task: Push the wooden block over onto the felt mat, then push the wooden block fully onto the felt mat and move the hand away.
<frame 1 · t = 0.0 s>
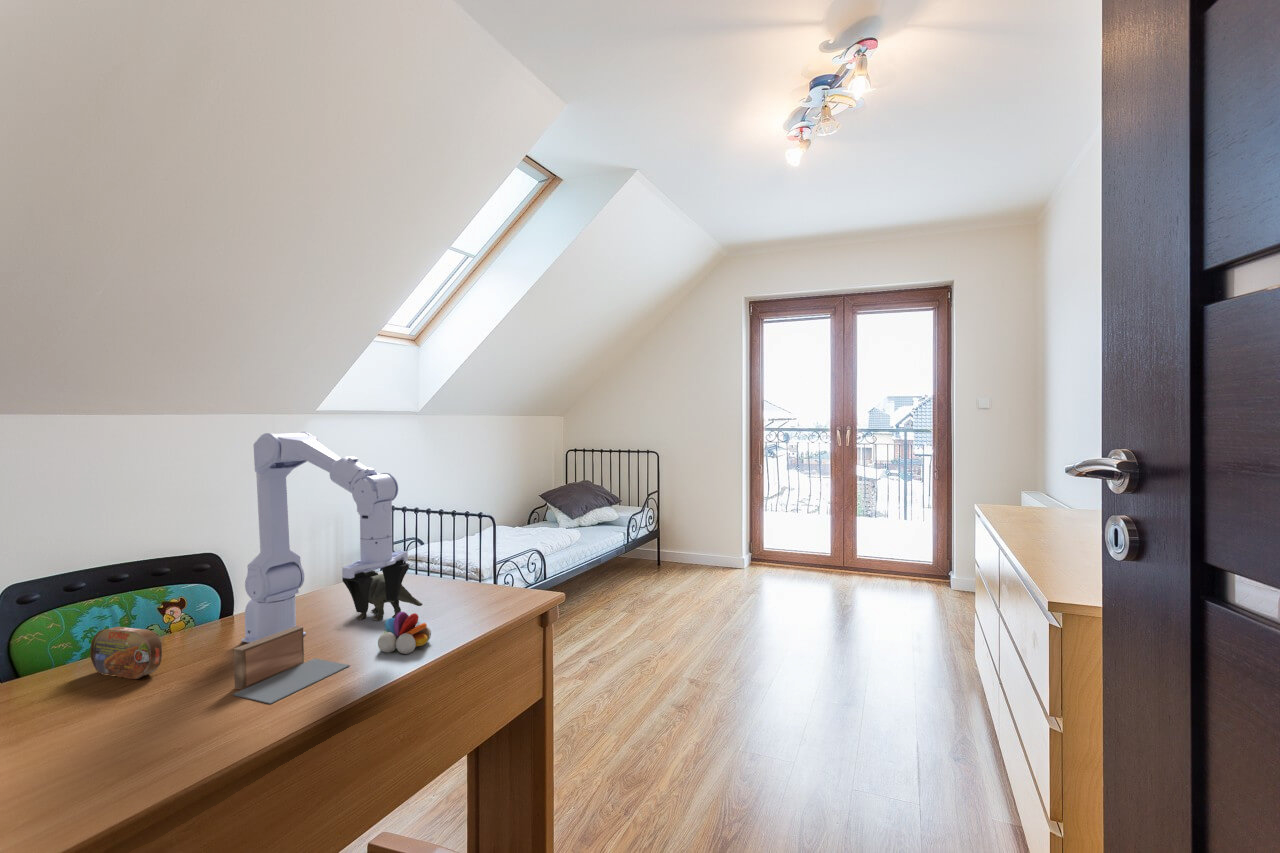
hand: (377, 606, 118), 10 cm above the table, fingers open, 7 cm apart
wooden block: (270, 675, 110), on the table
felt mat: (294, 679, 108), on the table
rainbow petal rattle: (404, 648, 123), on the table
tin: (127, 675, 111), on the table
dinosaur figurine: (381, 617, 142), on the table
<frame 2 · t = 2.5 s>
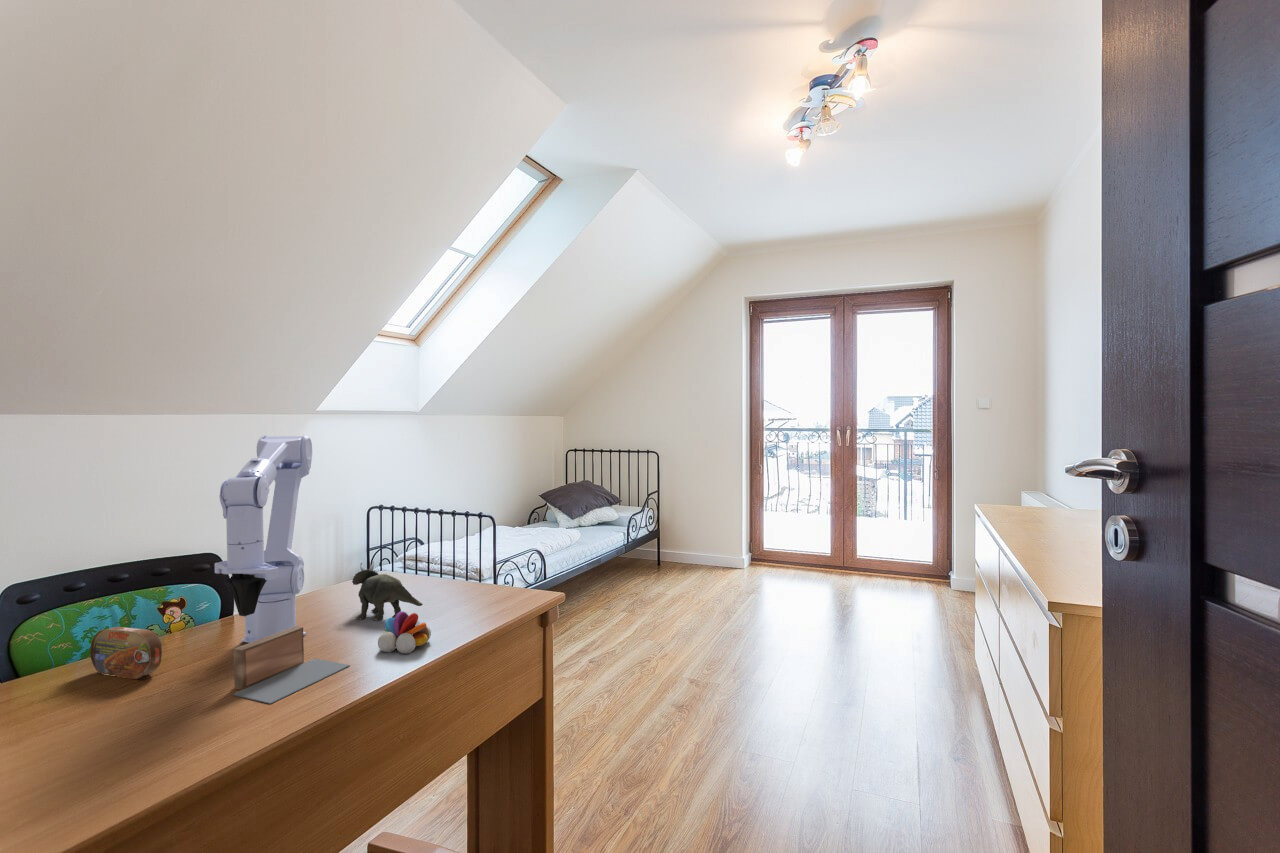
hand: (247, 614, 112), 10 cm above the table, fingers closed
nothing on the table moved.
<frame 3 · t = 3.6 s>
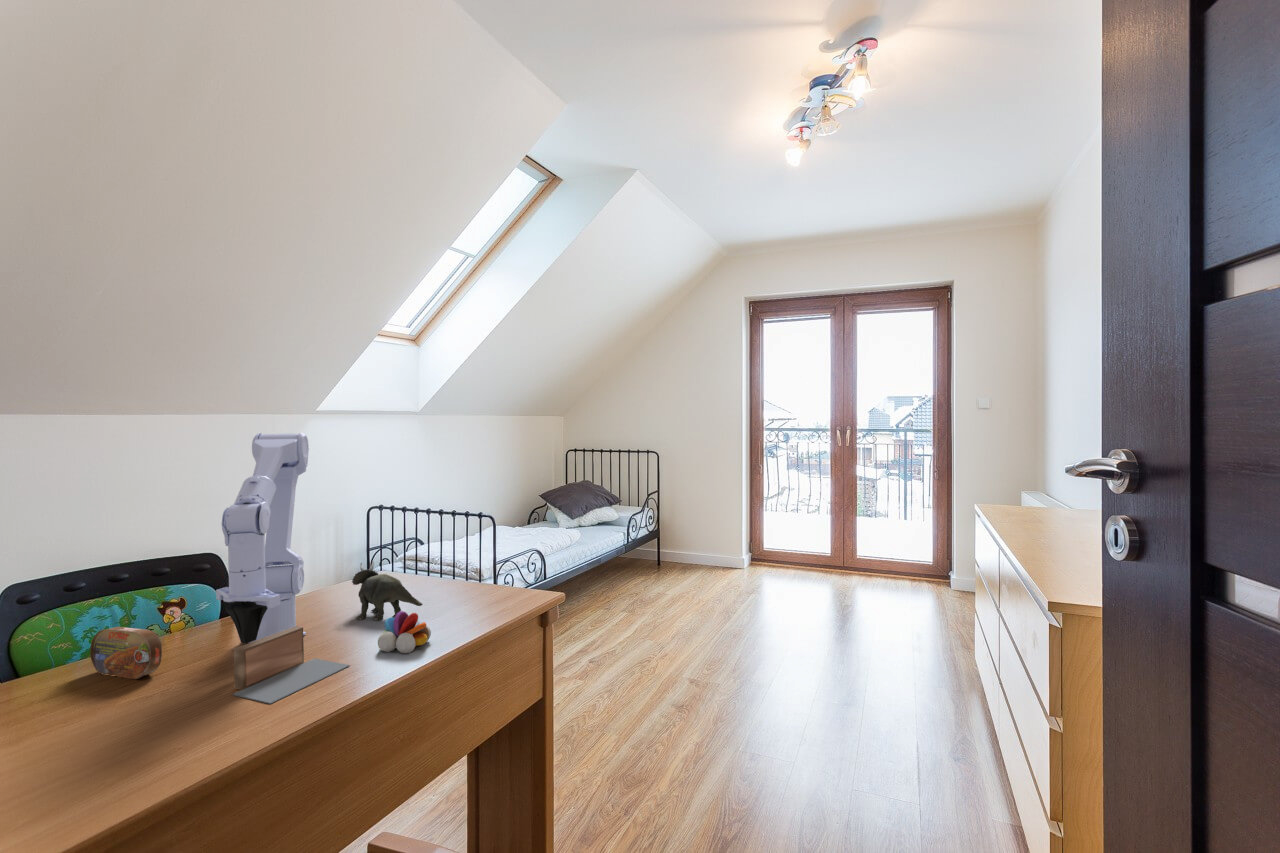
hand: (248, 641, 112), 5 cm above the table, fingers closed
nothing on the table moved.
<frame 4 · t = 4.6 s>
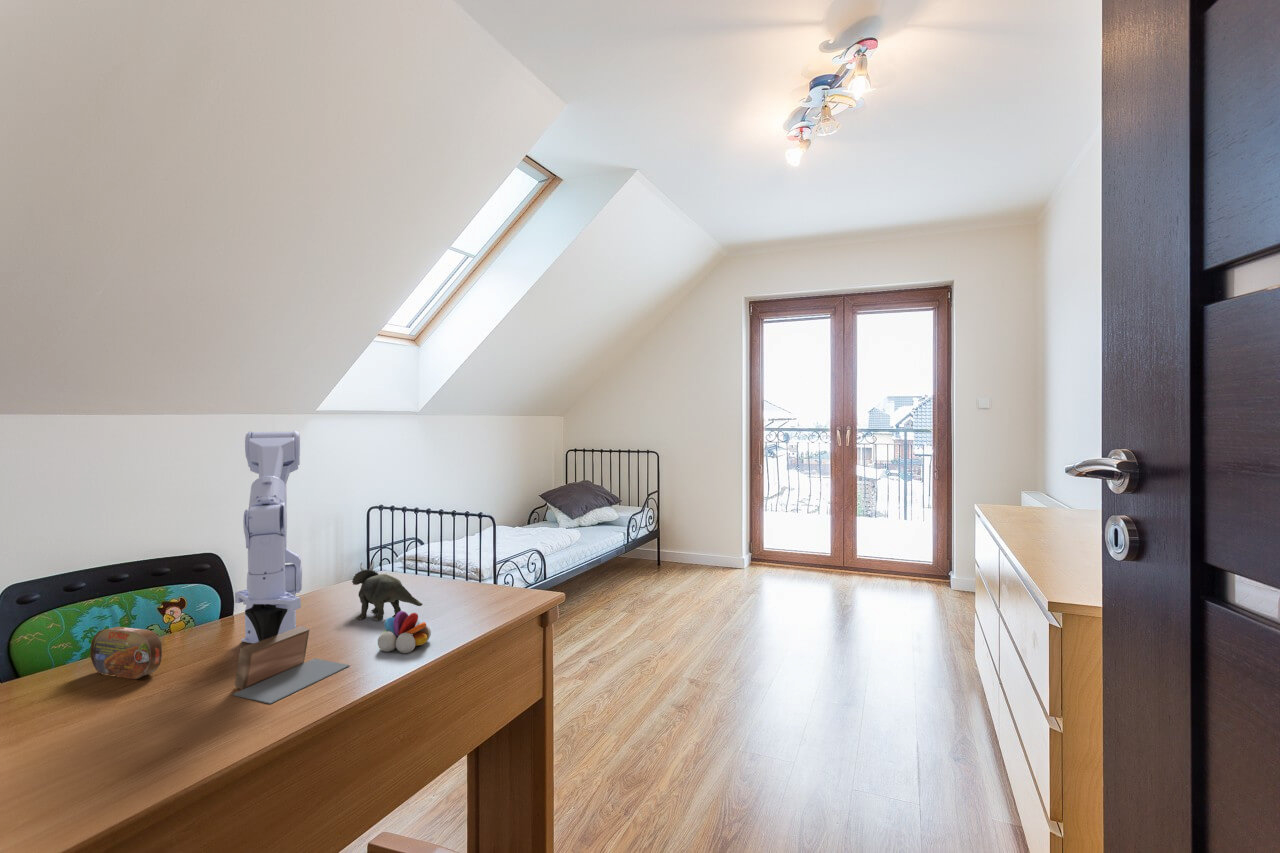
hand: (268, 644, 110), 5 cm above the table, fingers closed
wooden block: (270, 674, 110), on the table, tilted 14°, touching gripper
everything else where it was.
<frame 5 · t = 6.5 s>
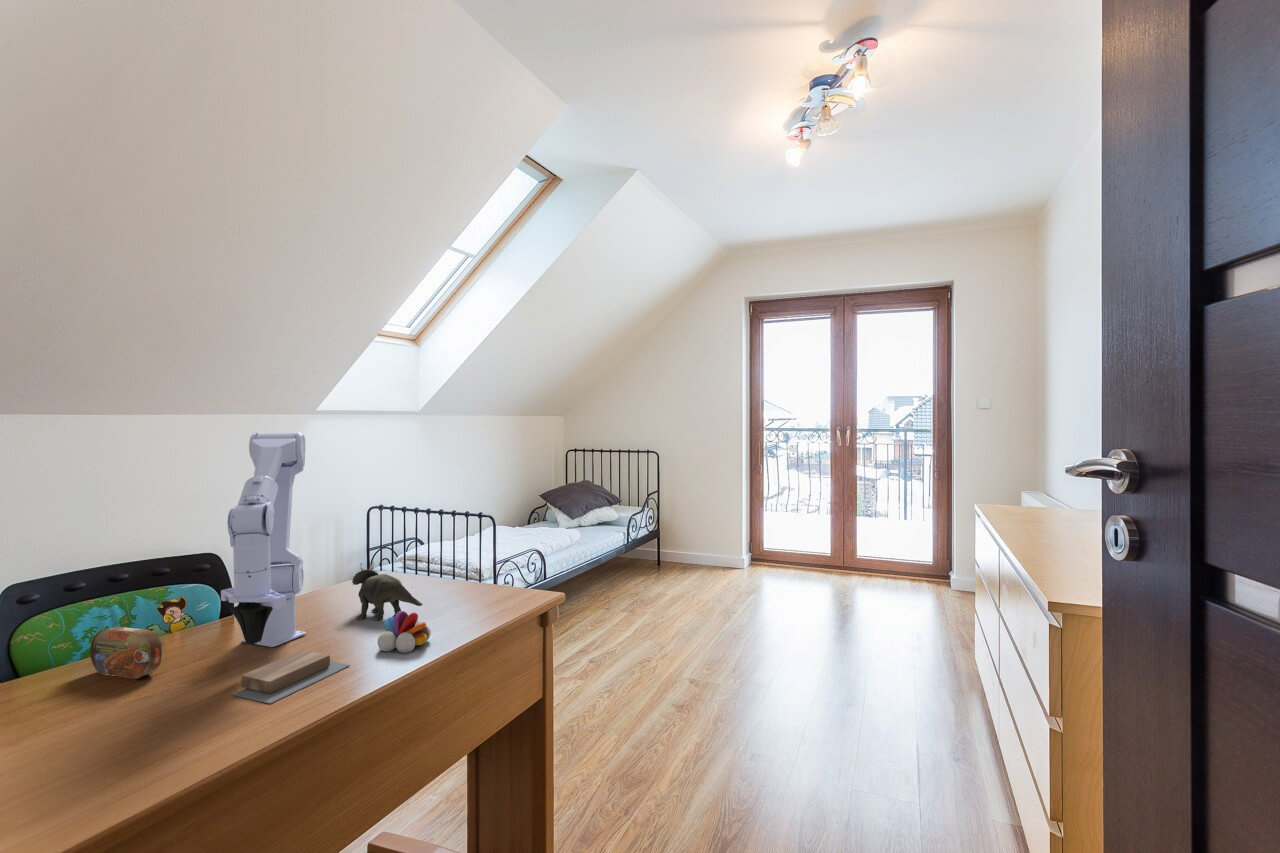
hand: (253, 642, 112), 5 cm above the table, fingers closed
wooden block: (273, 667, 110), point 1 cm above the table, tilted 90°, touching felt mat
everything else where it was.
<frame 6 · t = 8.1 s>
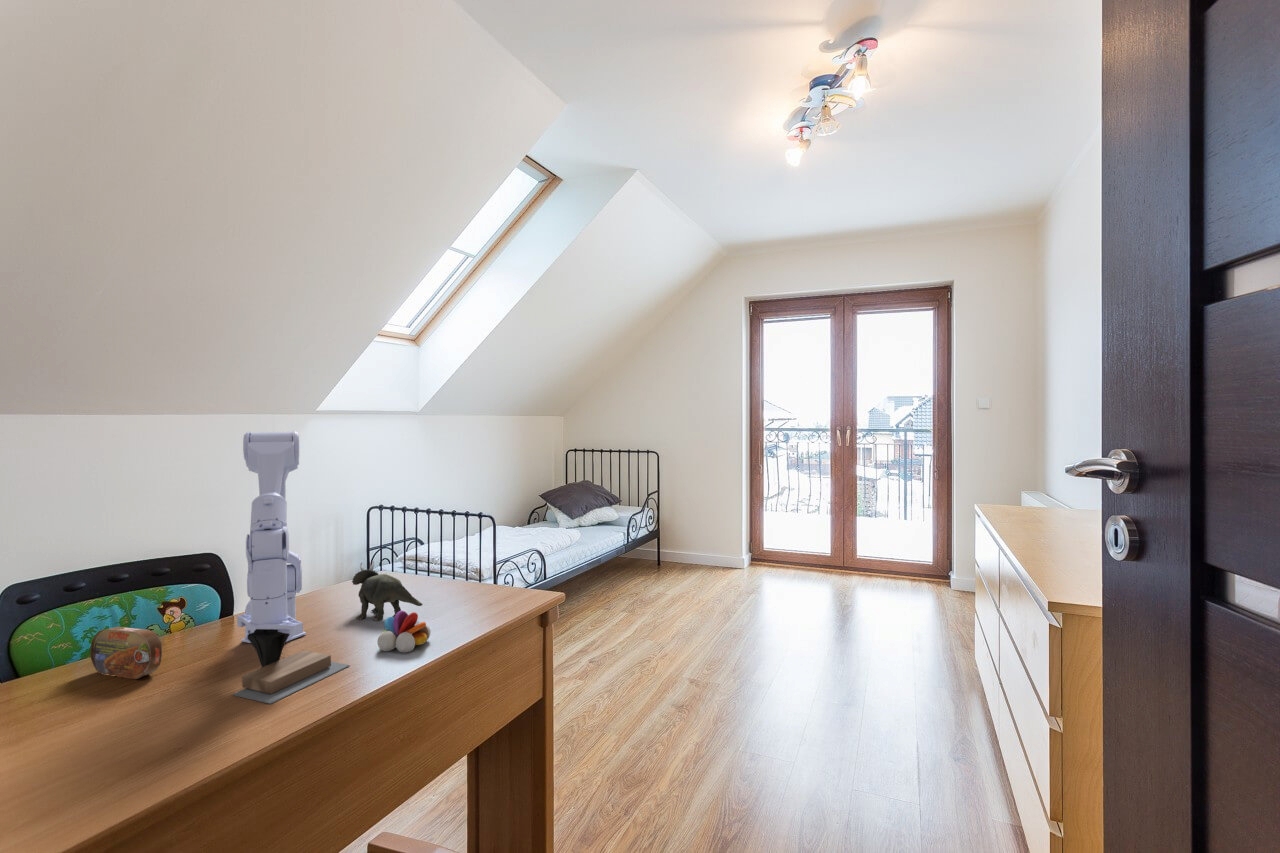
hand: (270, 669, 110), 1 cm above the table, fingers closed
wooden block: (274, 667, 110), point 1 cm above the table, tilted 90°, touching felt mat, gripper
everything else where it was.
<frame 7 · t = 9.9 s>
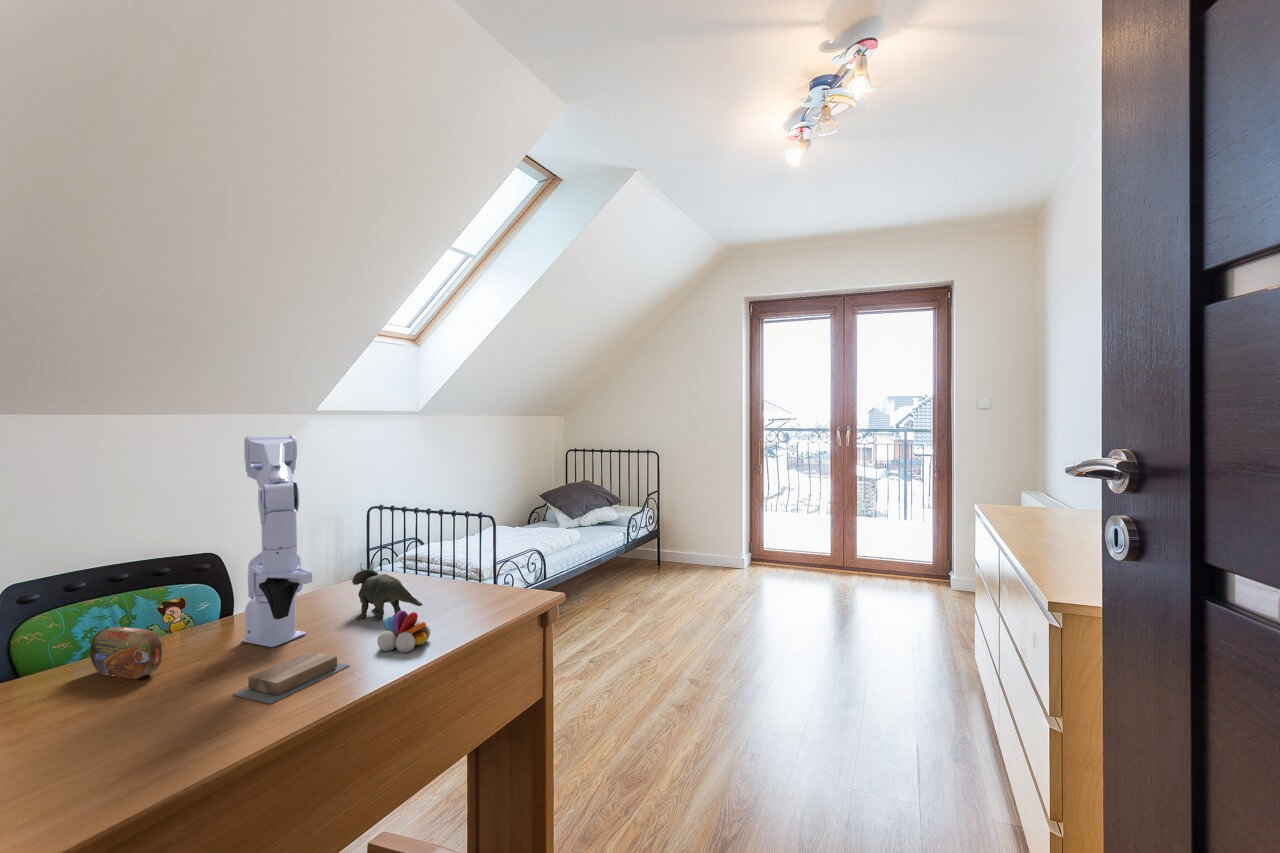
hand: (280, 617, 115), 9 cm above the table, fingers closed
wooden block: (280, 668, 109), point 1 cm above the table, tilted 90°, touching felt mat
everything else where it was.
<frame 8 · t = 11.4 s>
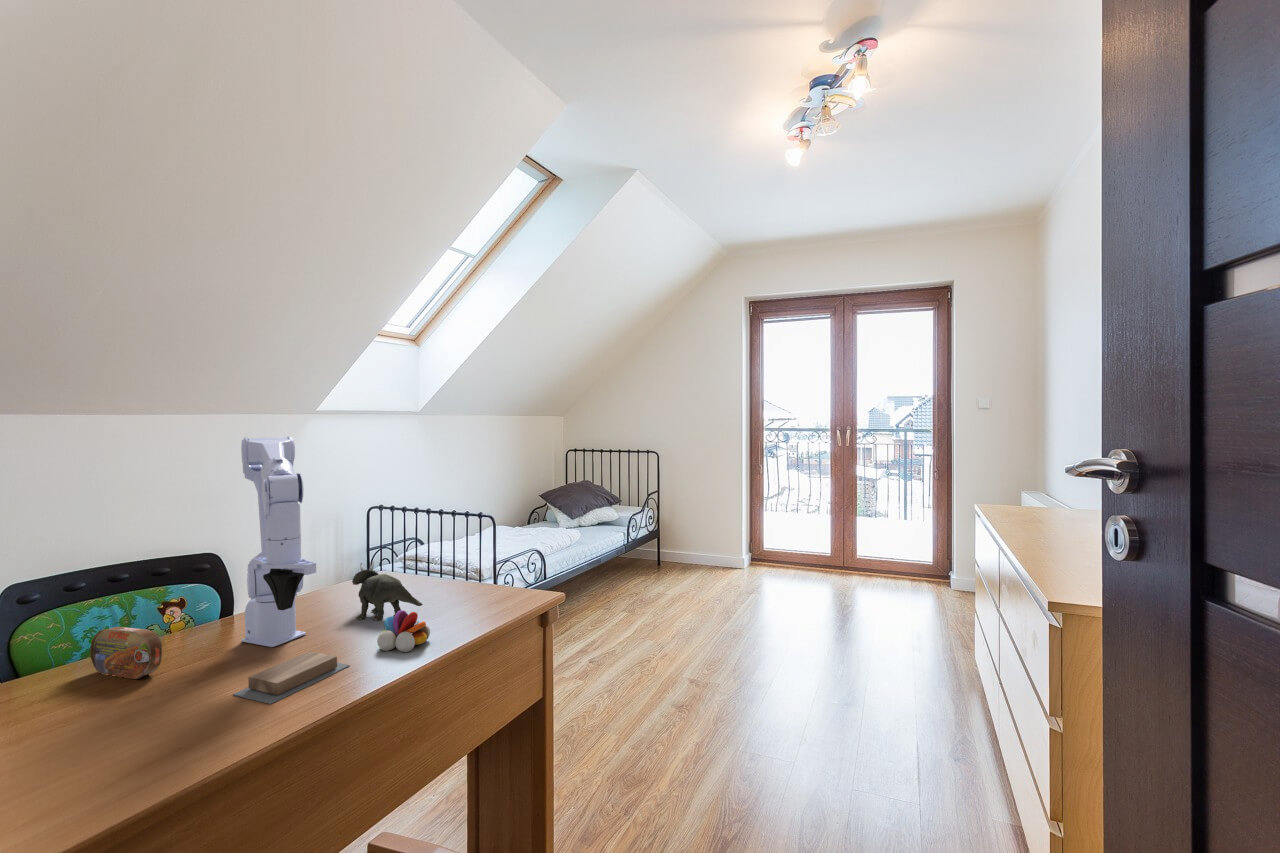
hand: (285, 608, 116), 10 cm above the table, fingers closed
at the end: wooden block tilted 90°; wooden block inside the target area on the felt mat (3.5 cm from its centre), point 1.4 cm above the felt mat's base; the gripper is holding nothing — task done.
